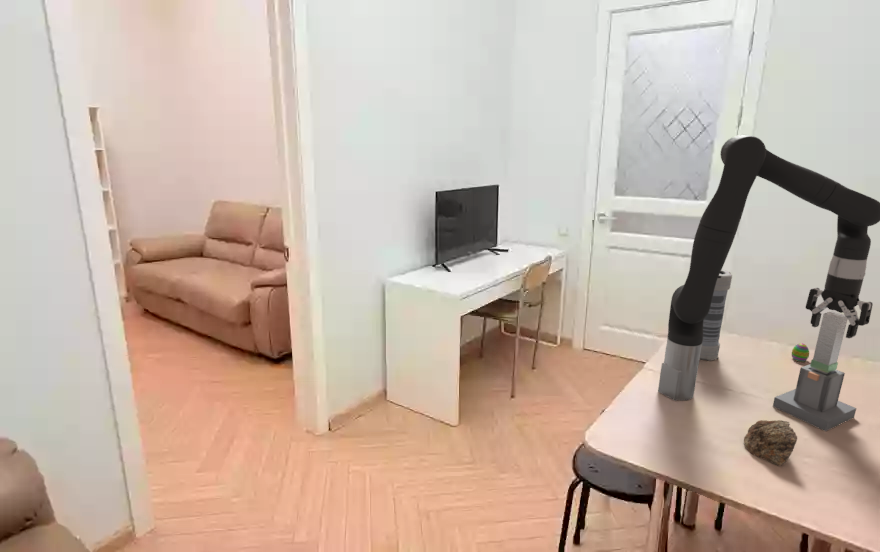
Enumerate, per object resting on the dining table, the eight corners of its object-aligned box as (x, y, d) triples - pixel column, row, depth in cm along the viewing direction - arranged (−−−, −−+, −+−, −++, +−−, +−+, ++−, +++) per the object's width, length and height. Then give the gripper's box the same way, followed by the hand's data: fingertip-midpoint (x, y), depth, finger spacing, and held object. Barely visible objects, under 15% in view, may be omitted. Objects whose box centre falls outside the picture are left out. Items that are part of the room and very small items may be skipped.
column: (823, 387, 144) (840, 319, 138) (806, 380, 147) (822, 313, 141) (832, 384, 146) (849, 316, 140) (815, 377, 149) (831, 310, 143)
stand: (825, 431, 140) (836, 387, 136) (772, 406, 152) (781, 365, 148) (853, 417, 147) (865, 375, 143) (801, 394, 158) (810, 355, 154)
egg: (806, 358, 182) (809, 342, 180) (808, 364, 178) (812, 347, 176) (789, 355, 184) (792, 339, 182) (791, 361, 180) (795, 345, 178)
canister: (720, 362, 178) (735, 277, 170) (687, 358, 181) (700, 274, 172) (715, 350, 188) (729, 269, 179) (684, 346, 190) (696, 266, 182)
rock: (785, 443, 137) (741, 433, 141) (792, 413, 135) (747, 403, 139) (792, 472, 124) (744, 459, 129) (799, 438, 122) (750, 427, 127)
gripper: (808, 268, 142) (796, 325, 146) (870, 283, 130) (854, 344, 134) (824, 265, 145) (811, 320, 150) (885, 279, 133) (869, 339, 138)
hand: (831, 331), depth 142 cm, fingers open, 8 cm apart
